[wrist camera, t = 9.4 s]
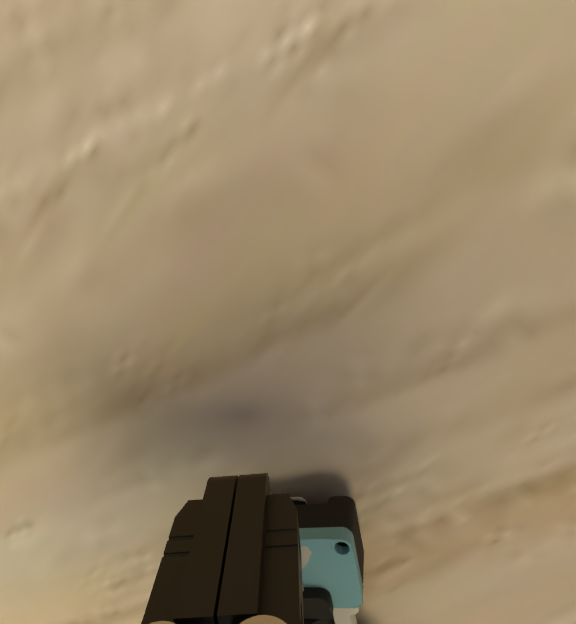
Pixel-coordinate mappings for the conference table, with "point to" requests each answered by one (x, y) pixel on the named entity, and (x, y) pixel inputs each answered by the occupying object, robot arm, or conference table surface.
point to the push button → (330, 560)
